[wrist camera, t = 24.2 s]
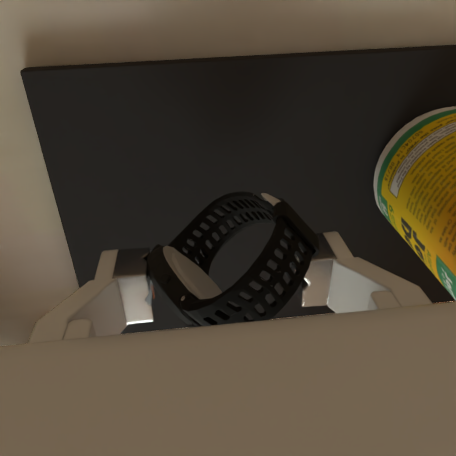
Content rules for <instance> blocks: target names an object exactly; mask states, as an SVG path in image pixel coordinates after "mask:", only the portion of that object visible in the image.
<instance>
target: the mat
mask: <svg viewBox="0 0 456 456" xmlns="http://www.w3.org/2000/svg"><path fill="white" fill-rule="evenodd" d="M21 76H22V80H23V83H24V87H25V91H26V94H27V98H28V102H29V105H30V109H31V113H32V116H33V120H34V123H35V127H36V131H37V134H38V138H39V142H40V145H41V149H42V153H43V156H44V160H45V163H46V167H47V171H48V174H49V178H50V182H51V185H52V189H53V193H54V196H55V200H56V203H57V207H58V211H59V214H60V218H61V222H62V225H63V229H64V233H65V236H66V240H67V244H68V247H69V251H70V254H71V258H72V262H73V265H74V269H75V273H76V276H77V280H78V284H79V287H80V288H81V287H82V286H83V285H85V284H86V283H87V282H89V281H91V280H94V279H95V275H96V271H97V267H98V264H99V260H100V256H101V253H102V252H103V251H105V250H116V249H118V250H119V249H133V248H149V247H150V250H151V252H152V251H153V250H152V249H153V248H154V247H155V246H156V245H157V244H160V245H161V246H167V245H168V244H169V243H170V242H171V241H172V240H173V239H174V238H175V237H176V236H177V235H178V234H179V233H180V232H181V231H182V230H183V229H184V228H185V227H186V226H187V225H188V224H189V223H190V222H191V221H192V220H193V219H194V218H195V217H196V216H197V215H198V214H199V213H200V212H201V211H202V210H203V209H204V208H206V207H207V206H208V205H209V204H210V203H212V202H213V201H214V200H216V199H217V198H219V197H221V196H223V195H226V194H228V193H233V192H242V191H243V192H251V193H253V194H255V195H256V196H258V197H259V198H260V199H262V200H264V198H263V197H262V195H261V193H267V194H269V195H270V196H272V197H274V198H282V199H284V200H285V201H286V202H287V203H288V204H289V205H290V206H291V207H292V208H293V209H294V211H295V212H296V213H297V214H298V215H299V216H300V217H301V218H302V219H303V220H304V222H305V223H306V224H307V225H308V226H309V227H310V228H311V229H312V230H313V232H314V233H315V234H317V233H325V232H333V231H336V232H338V233H339V235H340V236H341V238H342V239H343V241H344V243H345V244H346V246H347V247H348V249H349V250H350V252H351V253H352V255H353V257H359V258H361V259H363V260H365V261H367V262H369V263H372V264H374V265H376V266H378V267H380V268H382V269H384V270H386V271H388V272H390V273H392V274H394V275H396V276H399V277H401V278H403V279H405V280H407V281H409V282H411V283H413V284H415V285H417V286H419V287H420V288H421V289H422V291H423V292H424V293H425V294H426V296H427V297H428V298H429V300H430V301H431V302H432V303H436V302H446V301H456V300H455V299H454V298H453V297H452V296H451V294H450V293H449V292H448V291H447V290H446V288H445V287H444V286H443V285H442V284H441V282H440V281H439V280H438V279H437V278H436V277H435V275H434V274H433V273H432V272H431V270H430V269H429V268H428V267H427V266H426V265H425V263H424V262H423V261H422V260H421V259H420V257H419V256H418V255H417V254H416V253H415V251H414V250H413V249H412V248H411V247H410V246H409V244H408V243H407V242H406V241H405V240H404V239H403V237H402V236H401V235H400V234H399V233H398V232H397V230H396V229H395V228H394V227H393V226H392V225H391V223H390V222H389V221H388V220H387V219H386V217H385V216H384V215H383V214H382V212H381V211H380V209H379V208H378V206H377V203H376V200H375V195H374V186H373V184H374V174H375V169H376V165H377V163H378V160H379V157H380V155H381V154H382V152H383V150H384V148H385V147H386V145H387V144H388V143H389V141H390V140H391V139H392V137H393V136H394V135H395V134H396V133H397V132H398V131H399V130H400V129H401V128H402V127H404V126H405V125H406V124H407V123H409V122H411V121H412V120H414V119H415V118H416V117H418V116H421V115H423V114H425V113H428V112H430V111H433V110H436V109H441V108H445V107H452V106H456V45H442V46H423V47H405V48H386V49H367V50H348V51H329V52H310V53H291V54H273V55H254V56H235V57H216V58H197V59H178V60H160V61H141V62H122V63H103V64H84V65H65V66H46V67H28V68H25V69H23V70H21ZM264 201H265V200H264ZM230 204H231V205H233V204H232V203H230ZM233 206H234V205H233ZM222 207H224V208H225V209H226V210H228V211H231V210H229V209H228V208H227V207H226V206H224V205H222ZM234 207H235V206H234ZM214 212H216V213H217V214H219V215H220V216H223V215H224V214H223V213H222V212H221V211H219V210H218V209H217V210H214ZM249 215H250V214H249ZM242 216H243V217H244V218H245V219H247V218H246V217H245V216H244V215H243V214H242ZM250 216H251V215H250ZM251 217H252V216H251ZM234 218H235V219H236V220H237V222H241V221H240V220H239V219H238V217H237V216H234ZM207 219H209V220H210V221H212V222H213V223H214V222H216V221H217V219H215V218H214V217H212V216H211V215H209V216H207ZM226 222H227V223H228V225H229V226H230V228H232V227H234V224H233V223H232V222H231V220H227V221H226ZM275 225H276V224H272V223H262V224H255V225H252V226H250V227H247V228H245V229H243V230H242V231H240V232H239V233H237V234H236V235H235V236H234V237H233V238H231V239H230V240H229V241H228V242H227V243H226V244H225V245H224V246H223V247H222V248H221V250H220V251H219V252H218V253H217V255H216V257H215V258H214V260H213V261H212V263H211V266H210V269H209V277H210V278H211V279H212V280H213V282H214V283H215V284H216V285H217V286H218V287H219V289H220V290H221V291H222V292H224V291H225V290H227V289H228V288H230V287H231V286H232V285H234V284H235V283H236V282H237V281H238V280H239V279H240V278H241V277H242V276H243V275H244V274H245V273H246V272H247V271H248V269H249V268H250V267H251V265H252V264H253V263H254V262H255V260H256V259H257V258H258V256H259V255H260V254H261V252H262V251H263V249H264V247H265V246H266V244H267V242H268V241H269V239H270V237H271V235H272V233H273V230H274V228H275ZM200 227H202V228H203V229H205V230H208V229H209V226H208V225H206V224H205V223H203V222H202V223H201V225H200ZM219 229H220V230H221V231H222V233H223V234H226V233H227V230H226V229H225V227H224V226H223V225H221V226H220V227H219ZM193 234H194V235H196V236H197V237H200V236H202V234H201V233H200V232H198V231H197V230H194V231H193ZM284 234H285V235H286V236H288V235H287V234H286V233H285V232H284ZM212 237H213V238H214V239H215V240H216V241H218V240H219V236H218V235H217V234H216V232H214V233H212ZM288 237H289V236H288ZM289 238H290V237H289ZM290 239H291V238H290ZM187 243H188V244H189V245H191V246H194V242H193V241H191V240H190V239H188V240H187ZM205 244H206V245H207V246H208V247H209V248H210V249H211V248H212V244H211V243H210V242H209V240H206V243H205ZM280 245H282V246H283V247H284V248H286V249H288V248H287V244H285V243H284V242H283V241H281V240H280ZM182 250H183V252H185V253H186V254H187V253H188V251H187V250H186V249H184V248H182ZM200 253H201V254H202V256H203V257H204V255H203V253H202V251H201V250H200ZM274 253H275V255H276V256H277V257H279V258H280V259H283V254H282V253H281V252H279V251H278V250H277V249H275V252H274ZM195 260H196V258H195ZM196 262H197V263H198V264H199V262H198V261H197V260H196ZM267 266H269V267H270V268H272V269H273V270H275V269H277V264H276V263H274V262H273V261H271V260H269V261H268V263H267ZM259 276H260V277H262V278H263V279H264V280H266V281H267V280H268V279H269V278H270V274H268V273H267V272H265V271H262V272H261V274H260V275H259ZM283 279H284V280H285V282H286V283H287V284H288V282H289V281H290V279H289V278H288V276H287V275H286V273H284V276H283ZM249 286H251V287H252V288H254V289H255V290H260V289H261V287H262V286H261V285H259V284H258V283H256V282H254V281H252V282H251V283H250V284H249ZM274 288H275V290H276V291H277V292H278V294H279V295H280V294H282V292H283V289H282V288H281V286H280V285H279V283H277V284H276V285H275V287H274ZM239 295H240V296H242V297H243V298H245V299H246V300H247V299H250V298H251V296H249V295H247V294H246V293H244V292H241V293H240V294H239ZM265 299H266V301H267V302H268V303H269V304H271V303H272V302H273V301H275V299H274V298H273V296H272V295H271V294H267V295H266V297H265ZM153 300H154V307H155V308H154V321H152V322H143V323H135V324H127V326H126V327H125V329H124V330H123V331H122V332H121V334H126V333H136V332H146V331H156V330H166V329H176V328H186V327H188V326H187V325H186V324H185V323H184V322H183V321H182V320H181V319H180V318H179V317H178V316H177V315H176V314H175V313H174V312H173V311H172V310H171V309H170V308H169V307H168V305H167V304H166V303H165V302H164V300H163V299H162V298H161V296H160V295H159V293H158V292H157V291H156V289H155V298H154V299H153ZM230 303H231V304H232V305H234V306H235V307H239V305H237V304H235V303H234V302H230ZM255 309H256V310H257V311H258V312H259V313H264V311H265V310H264V309H263V307H262V306H261V305H260V304H257V305H255ZM326 313H335V312H334V311H333V310H332V309H330V308H329V307H328V305H325V306H310V307H302V306H301V303H300V300H299V298H298V295H297V291H296V292H295V294H294V295H293V296H292V297H291V299H290V300H289V301H288V302H287V304H286V305H285V306H284V307H283V308H282V309H281V310H280V311H279V312H278V313H277V314H276V315H275V316H274V317H273V318H272V319H276V318H286V317H296V316H306V315H316V314H326ZM245 316H246V317H247V318H248V319H249V320H253V318H252V317H251V316H250V315H249V313H247V314H246V315H245Z"/></svg>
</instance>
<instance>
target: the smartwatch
mask: <svg viewBox="0 0 456 456" xmlns="http://www.w3.org/2000/svg"><path fill="white" fill-rule="evenodd" d="M261 195H262V197H263V198H264V200H265V201H264V200H262V199H260V198H259V197H258V196H256V195H255V194H253V193H251V192H243V191H242V192H233V193H228V194H226V195H223V196H221V197H219V198H217V199H216V200H214V201H213V202H212V203H210V204H209V205H208V206H207V207H206V208H204V209H203V210H202V211H201V212H200V213H199V214H198V215H197V216H196V217H195V218H194V219H193V220H192V221H191V222H190V223H189V224H188V225H187V226H186V227H185V228H184V229H183V230H182V231H181V232H180V233H179V234H178V235H177V236H176V237H175V238H174V239H173V240H172V241H171V242H170V243H169V244H168V245H167V246H161V245H160V244H157V245H156V246H155V247H154V248H153V249H152V250H153V251H152V252H151V253H150V254H149V256H148V258H147V262H148V267H147V269H148V276H149V277H150V279H151V281H152V283H153V285H154V287H155V289H156V291H157V292H158V293H159V295H160V296H161V298H162V299H163V300H164V302H165V303H166V304H167V305H168V307H169V308H170V309H171V310H172V311H173V312H174V313H175V314H176V315H177V316H178V317H179V318H180V319H181V320H182V321H183V322H184V323H185V324H186V325H187V326H188V327H189V328H191V327H201V326H211V325H222V324H232V323H242V322H253V321H263V320H270V319H272V318H273V317H274V316H275V315H276V314H277V313H278V312H279V311H280V310H281V309H282V308H283V307H284V306H285V305H286V304H287V302H288V301H289V300H290V299H291V297H292V296H293V295H294V294H295V292H296V291H297V289H298V288H299V286H300V284H301V282H302V281H303V279H304V277H305V275H306V273H307V271H308V269H309V266H310V262H311V259H312V257H315V256H317V255H318V254H319V238H318V236H317V235H316V234H315V233H314V232H313V230H312V229H311V228H310V227H309V226H308V225H307V224H306V223H305V222H304V220H303V219H302V218H301V217H300V216H299V215H298V214H297V213H296V212H295V211H294V209H293V208H292V207H291V206H290V205H289V204H288V203H287V202H286V201H285V200H284V199H282V198H274V197H272V196H270V195H269V194H267V193H261ZM230 203H232V204H233V205H234V206H235V207H234V206H233V205H231V204H230ZM222 205H224V206H226V207H227V208H228V209H229V210H231V211H228V210H226V209H225V208H224V207H222ZM217 209H218V210H219V211H221V212H222V213H223V214H224V215H223V216H220V215H219V214H217V213H216V212H214V210H217ZM242 214H243V215H244V216H245V217H246V218H247V219H245V218H244V217H243V216H242ZM249 214H250V215H251V216H252V217H251V216H250V215H249ZM209 215H211V216H212V217H214V218H215V219H217V221H216V222H214V223H213V222H212V221H210V220H209V219H207V216H209ZM234 216H237V217H238V219H239V220H240V221H241V222H237V220H236V219H235V218H234ZM227 220H231V222H232V223H233V224H234V227H232V228H230V226H229V225H228V223H227V222H226V221H227ZM202 222H203V223H205V224H206V225H208V226H209V229H208V230H205V229H203V228H202V227H200V225H201V223H202ZM262 223H272V224H276V225H275V228H274V230H273V233H272V235H271V237H270V239H269V241H268V242H267V244H266V246H265V247H264V249H263V251H262V252H261V254H260V255H259V256H258V258H257V259H256V260H255V262H254V263H253V264H252V265H251V267H250V268H249V269H248V271H247V272H246V273H245V274H244V275H243V276H242V277H241V278H240V279H239V280H238V281H237V282H236V283H235V284H234V285H232V286H231V287H230V288H228V289H227V290H225V291H224V292H222V291H221V290H220V289H219V287H218V286H217V285H216V284H215V283H214V282H213V280H212V279H211V278H210V277H209V269H210V266H211V263H212V261H213V260H214V258H215V257H216V255H217V253H218V252H219V251H220V250H221V248H222V247H223V246H224V245H225V244H226V243H227V242H228V241H229V240H230V239H231V238H233V237H234V236H235V235H236V234H237V233H239V232H240V231H242V230H243V229H245V228H247V227H250V226H252V225H255V224H262ZM221 225H223V226H224V227H225V229H226V230H227V233H226V234H223V233H222V231H221V230H220V229H219V227H220V226H221ZM194 230H197V231H198V232H200V233H201V234H202V236H200V237H197V236H196V235H194V234H193V231H194ZM214 232H216V234H217V235H218V236H219V240H218V241H216V240H215V239H214V238H213V237H212V233H214ZM284 232H285V233H286V234H287V235H288V236H289V237H290V238H291V239H290V238H289V237H288V236H286V235H285V234H284ZM188 239H190V240H191V241H193V242H194V246H191V245H189V244H188V243H187V240H188ZM206 240H209V242H210V243H211V244H212V248H211V249H210V248H209V247H208V246H207V245H206V244H205V243H206ZM280 240H281V241H283V242H284V243H285V244H287V248H288V249H286V248H284V247H283V246H282V245H280ZM299 247H300V248H301V249H302V251H303V252H302V251H301V249H300V248H299ZM182 248H184V249H186V250H187V251H188V253H187V254H186V253H185V252H183V250H182ZM275 249H277V250H278V251H279V252H281V253H282V254H283V259H280V258H279V257H277V256H276V255H275V253H274V252H275ZM200 250H201V251H202V253H203V255H204V257H203V256H202V254H201V253H200ZM294 254H296V256H297V257H298V258H299V260H300V264H299V262H298V260H297V259H296V257H295V256H294ZM195 258H196V260H197V261H198V262H199V264H198V263H197V262H196V260H195ZM269 260H271V261H273V262H274V263H276V264H277V269H275V270H273V269H272V268H270V267H269V266H267V263H268V261H269ZM290 263H291V264H292V265H293V266H294V268H295V269H296V272H295V274H294V272H293V271H292V269H291V268H290ZM262 271H265V272H267V273H268V274H270V278H269V279H268V280H267V281H266V280H264V279H263V278H262V277H260V276H259V275H260V274H261V272H262ZM284 273H286V275H287V276H288V278H289V279H290V281H289V282H288V284H287V283H286V282H285V280H284V279H283V276H284ZM252 281H254V282H256V283H258V284H259V285H261V286H262V287H261V289H260V290H255V289H254V288H252V287H251V286H249V284H250V283H251V282H252ZM277 283H279V285H280V286H281V288H282V289H283V292H282V294H280V295H279V294H278V292H277V291H276V290H275V288H274V287H275V285H276V284H277ZM241 292H244V293H246V294H247V295H249V296H251V298H250V299H247V300H246V299H245V298H243V297H242V296H240V295H239V294H240V293H241ZM267 294H271V295H272V296H273V298H274V299H275V301H273V302H272V303H271V304H269V303H268V302H267V301H266V299H265V297H266V295H267ZM230 302H234V303H235V304H237V305H239V307H235V306H234V305H232V304H231V303H230ZM257 304H260V305H261V306H262V307H263V309H264V310H265V311H264V313H259V312H258V311H257V310H256V309H255V305H257ZM247 313H249V315H250V316H251V317H252V318H253V320H249V319H248V318H247V317H246V316H245V315H246V314H247Z"/></svg>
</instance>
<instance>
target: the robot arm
mask: <svg viewBox="0 0 456 456" xmlns="http://www.w3.org/2000/svg"><path fill="white" fill-rule="evenodd" d="M316 235H317V236H318V238H319V254H318V255H317V256H315V257H312V259H311V262H310V266H309V269H308V271H307V273H306V275H305V277H304V279H303V281H302V282H301V284H300V286H299V288H298V289H297V295H298V298H299V300H300V303H301V306H302V307H310V306H325V305H328V307H329V308H330V309H332V310H333V311H334V312H335V313H334V314H324V315H314V316H304V317H294V318H283V319H273V320H263V321H253V322H242V323H232V324H222V325H211V326H201V327H191V328H181V329H170V330H160V331H150V332H140V333H129V334H121V332H122V331H123V330H124V329H125V327H126V326H127V324H135V323H143V322H152V321H154V308H155V307H154V300H153V299H154V298H155V287H154V285H153V283H152V281H151V279H150V277H149V276H148V269H147V267H148V262H147V258H148V256H149V254H150V253H151V250H150V247H149V248H133V249H119V250H118V249H116V250H105V251H103V252H102V253H101V256H100V260H99V264H98V267H97V271H96V275H95V279H94V280H91V281H89V282H87V283H86V284H85V285H83V286H82V287H81V288H79V289H78V290H77V291H76V292H74V293H73V294H72V295H70V296H69V297H68V298H66V299H65V300H64V301H63V302H61V303H60V304H59V305H57V306H56V307H55V308H53V309H52V310H51V311H50V312H48V313H47V314H46V315H44V316H43V317H42V318H41V319H39V320H38V321H37V322H36V323H35V325H34V328H33V330H32V332H31V335H30V337H29V340H28V342H27V344H16V345H6V346H0V456H456V302H448V303H437V304H433V303H432V302H431V301H430V300H429V298H428V297H427V296H426V294H425V293H424V292H423V291H422V289H421V288H420V287H419V286H417V285H415V284H413V283H411V282H409V281H407V280H405V279H403V278H401V277H399V276H396V275H394V274H392V273H390V272H388V271H386V270H384V269H382V268H380V267H378V266H376V265H374V264H372V263H369V262H367V261H365V260H363V259H361V258H359V257H353V255H352V253H351V252H350V250H349V249H348V247H347V246H346V244H345V243H344V241H343V239H342V238H341V236H340V235H339V233H338V232H336V231H333V232H325V233H317V234H316ZM299 248H300V247H299ZM300 249H301V248H300ZM301 251H302V249H301ZM302 252H303V251H302ZM294 256H295V257H296V259H297V260H298V262H299V264H300V260H299V258H298V257H297V256H296V254H294ZM290 268H291V269H292V271H293V272H294V274H295V272H296V269H295V268H294V266H293V265H292V264H291V263H290Z"/></svg>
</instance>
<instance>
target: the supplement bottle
mask: <svg viewBox="0 0 456 456" xmlns="http://www.w3.org/2000/svg"><path fill="white" fill-rule="evenodd" d="M373 186H374V195H375V200H376V203H377V206H378V208H379V209H380V211H381V212H382V214H383V215H384V216H385V217H386V219H387V220H388V221H389V222H390V223H391V225H392V226H393V227H394V228H395V229H396V230H397V232H398V233H399V234H400V235H401V236H402V237H403V239H404V240H405V241H406V242H407V243H408V244H409V246H410V247H411V248H412V249H413V250H414V251H415V253H416V254H417V255H418V256H419V257H420V259H421V260H422V261H423V262H424V263H425V265H426V266H427V267H428V268H429V269H430V270H431V272H432V273H433V274H434V275H435V277H436V278H437V279H438V280H439V281H440V282H441V284H442V285H443V286H444V287H445V288H446V290H447V291H448V292H449V293H450V294H451V296H452V297H453V298H454V299H455V300H456V106H452V107H445V108H441V109H436V110H433V111H430V112H428V113H425V114H423V115H421V116H418V117H416V118H415V119H414V120H412V121H411V122H409V123H407V124H406V125H405V126H404V127H402V128H401V129H400V130H399V131H398V132H397V133H396V134H395V135H394V136H393V137H392V139H391V140H390V141H389V143H388V144H387V145H386V147H385V148H384V150H383V152H382V154H381V155H380V157H379V160H378V163H377V165H376V169H375V174H374V184H373Z"/></svg>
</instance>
